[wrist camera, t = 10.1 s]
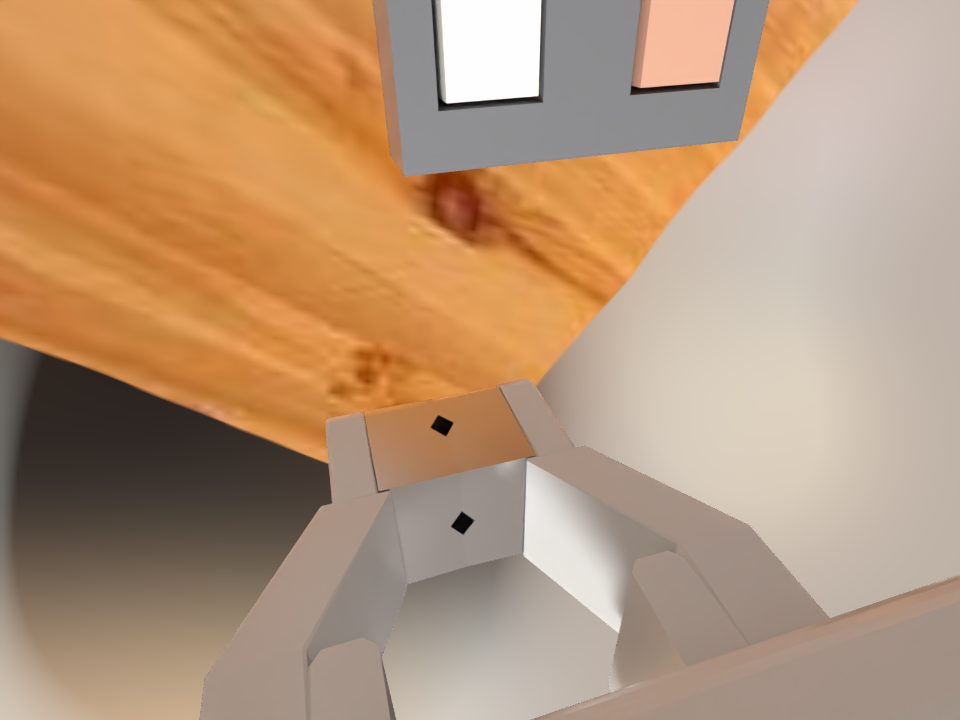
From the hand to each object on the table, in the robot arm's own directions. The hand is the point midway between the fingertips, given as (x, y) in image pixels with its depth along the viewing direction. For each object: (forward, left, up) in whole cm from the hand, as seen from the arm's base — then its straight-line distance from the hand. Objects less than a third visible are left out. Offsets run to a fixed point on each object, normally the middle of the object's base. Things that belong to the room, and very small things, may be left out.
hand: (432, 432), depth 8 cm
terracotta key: (-3, +19, -27) cm, 33 cm away
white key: (-3, +9, -27) cm, 28 cm away
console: (-3, +14, -29) cm, 32 cm away
